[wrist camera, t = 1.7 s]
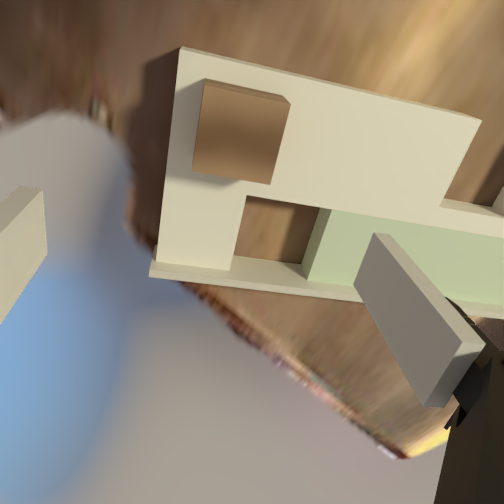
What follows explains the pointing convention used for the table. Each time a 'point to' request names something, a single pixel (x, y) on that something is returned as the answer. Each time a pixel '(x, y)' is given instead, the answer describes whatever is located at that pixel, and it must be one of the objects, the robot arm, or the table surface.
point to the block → (239, 132)
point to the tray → (332, 191)
